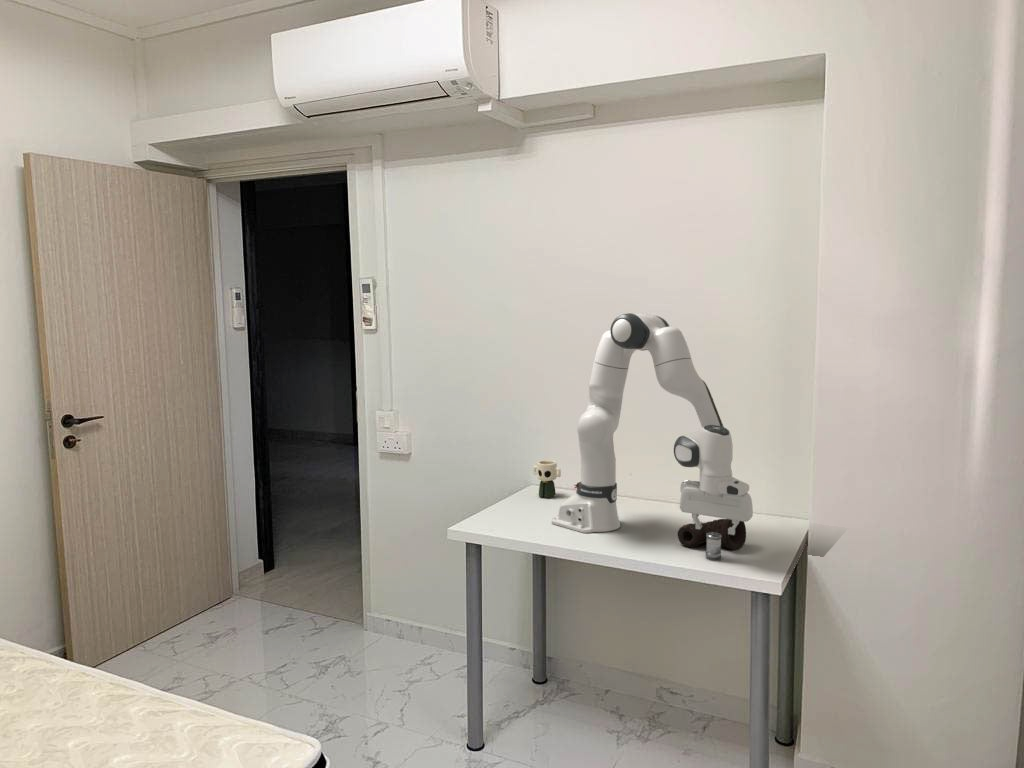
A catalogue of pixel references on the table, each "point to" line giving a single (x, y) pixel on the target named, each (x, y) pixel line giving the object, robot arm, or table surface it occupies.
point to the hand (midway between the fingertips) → (715, 531)
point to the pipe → (695, 536)
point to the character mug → (547, 477)
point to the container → (713, 546)
